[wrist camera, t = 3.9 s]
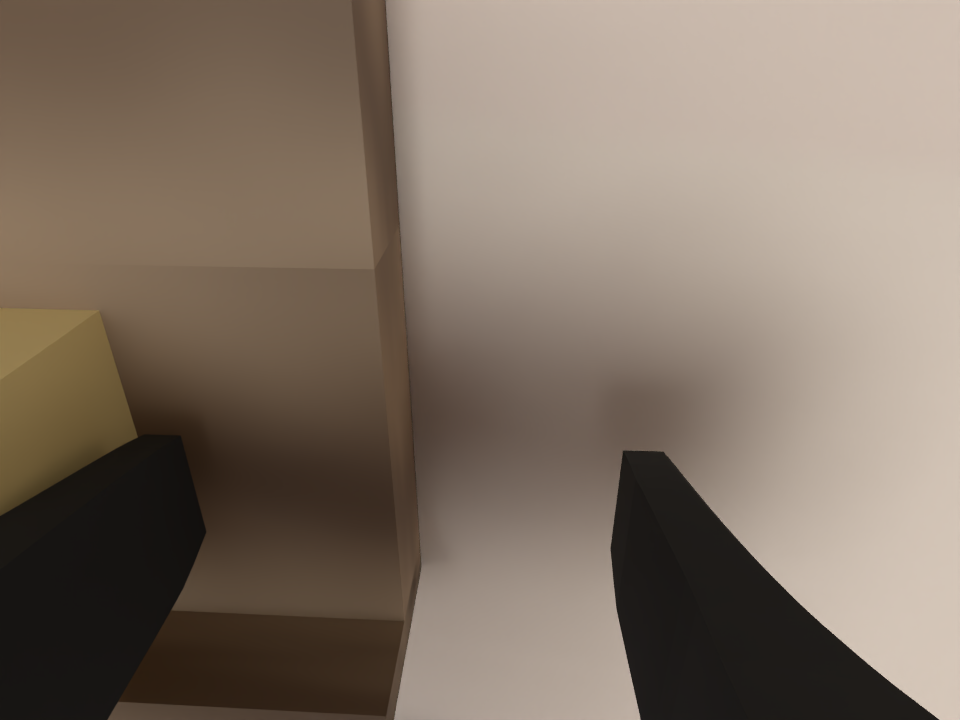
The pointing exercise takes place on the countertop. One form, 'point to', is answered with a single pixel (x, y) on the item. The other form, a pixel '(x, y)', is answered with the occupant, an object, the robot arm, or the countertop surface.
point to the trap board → (236, 319)
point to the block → (55, 399)
